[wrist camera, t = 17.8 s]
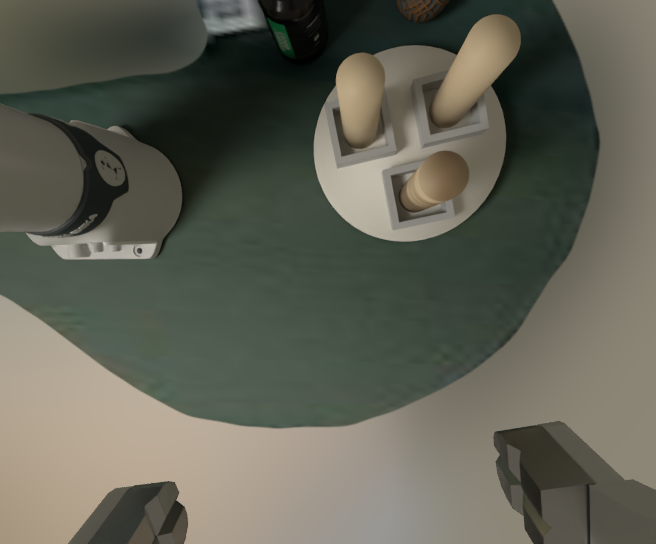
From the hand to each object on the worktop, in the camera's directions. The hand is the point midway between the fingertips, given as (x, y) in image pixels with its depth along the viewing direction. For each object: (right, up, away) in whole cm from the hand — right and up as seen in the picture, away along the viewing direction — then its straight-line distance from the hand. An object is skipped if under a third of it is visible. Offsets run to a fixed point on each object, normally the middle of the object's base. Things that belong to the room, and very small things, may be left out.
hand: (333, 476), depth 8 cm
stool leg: (+11, +15, +30) cm, 35 cm away
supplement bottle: (-3, +35, +32) cm, 48 cm away
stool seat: (+10, +21, +32) cm, 39 cm away
